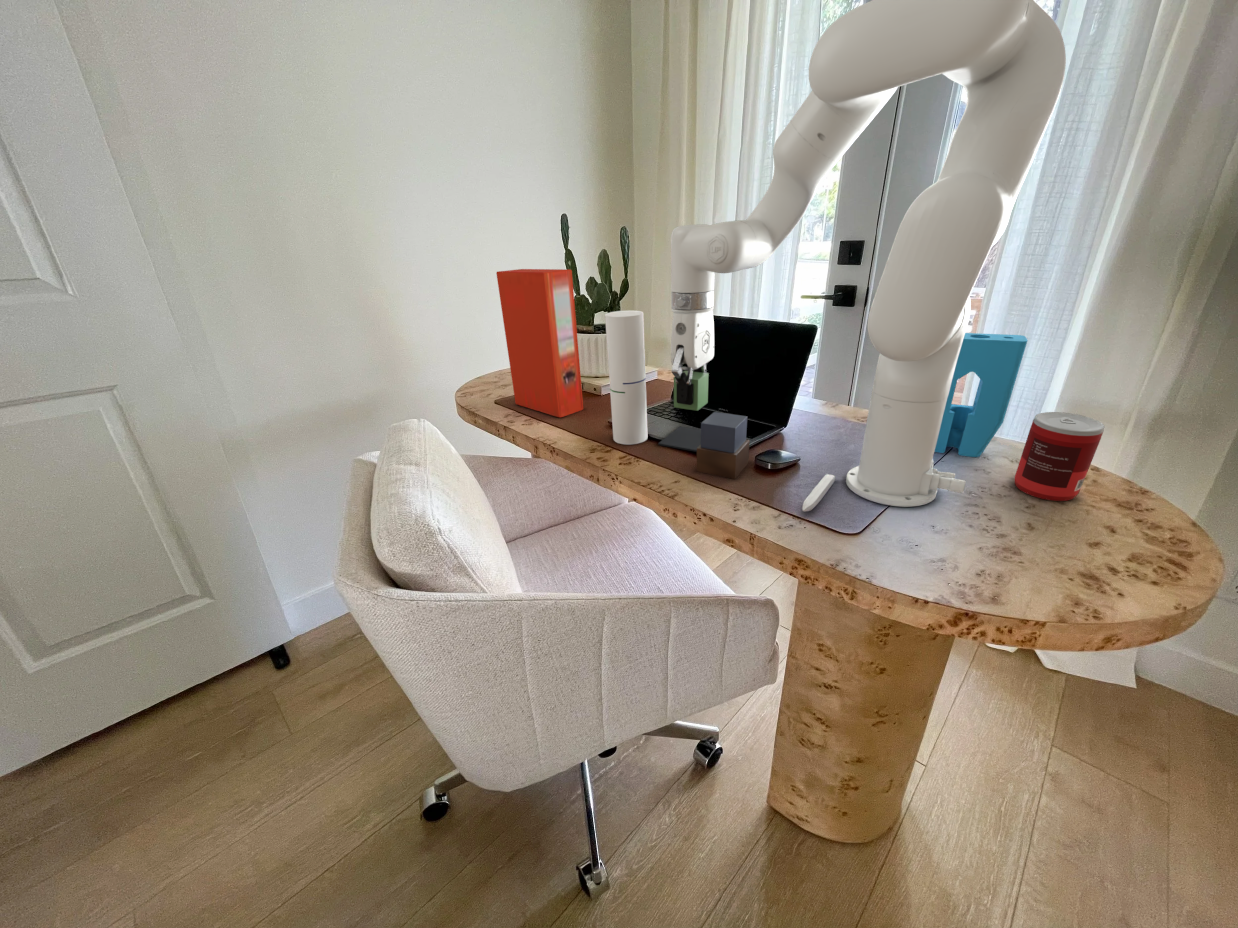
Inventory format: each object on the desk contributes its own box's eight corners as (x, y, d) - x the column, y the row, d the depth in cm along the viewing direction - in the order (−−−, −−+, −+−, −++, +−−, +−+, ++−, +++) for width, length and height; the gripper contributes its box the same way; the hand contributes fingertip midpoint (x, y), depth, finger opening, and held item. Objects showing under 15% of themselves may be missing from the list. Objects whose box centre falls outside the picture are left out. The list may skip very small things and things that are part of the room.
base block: (748, 462, 88) (749, 439, 86) (734, 479, 83) (736, 455, 81) (711, 456, 91) (712, 433, 89) (696, 471, 86) (696, 448, 84)
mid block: (746, 440, 86) (747, 416, 84) (734, 453, 81) (735, 428, 79) (713, 435, 89) (714, 411, 87) (700, 447, 84) (700, 423, 82)
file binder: (540, 396, 131) (523, 268, 117) (584, 408, 120) (571, 269, 106) (515, 405, 126) (495, 272, 112) (559, 418, 115) (542, 272, 101)
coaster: (724, 435, 100) (724, 433, 100) (705, 453, 92) (705, 451, 92) (679, 427, 105) (679, 426, 105) (658, 445, 97) (658, 443, 97)
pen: (796, 516, 71) (797, 506, 70) (826, 478, 81) (828, 469, 80) (807, 519, 70) (808, 509, 69) (836, 481, 80) (838, 471, 79)
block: (990, 448, 87) (1024, 335, 79) (992, 459, 83) (1028, 341, 75) (913, 438, 93) (937, 331, 84) (912, 448, 89) (936, 337, 81)
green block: (707, 402, 96) (708, 373, 94) (697, 410, 93) (698, 380, 90) (684, 399, 99) (684, 370, 96) (673, 407, 95) (673, 377, 92)
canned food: (1061, 478, 76) (1085, 412, 72) (1089, 504, 69) (1119, 432, 65) (1003, 475, 78) (1024, 410, 74) (1026, 500, 72) (1050, 430, 67)
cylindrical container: (648, 443, 98) (643, 315, 87) (612, 445, 99) (604, 317, 88) (647, 430, 105) (642, 309, 94) (613, 432, 105) (605, 311, 94)
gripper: (692, 310, 79) (690, 416, 87) (729, 295, 92) (725, 389, 100) (651, 308, 83) (653, 410, 91) (692, 294, 95) (691, 385, 103)
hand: (691, 398), depth 95 cm, fingers closed on green block, 5 cm apart
